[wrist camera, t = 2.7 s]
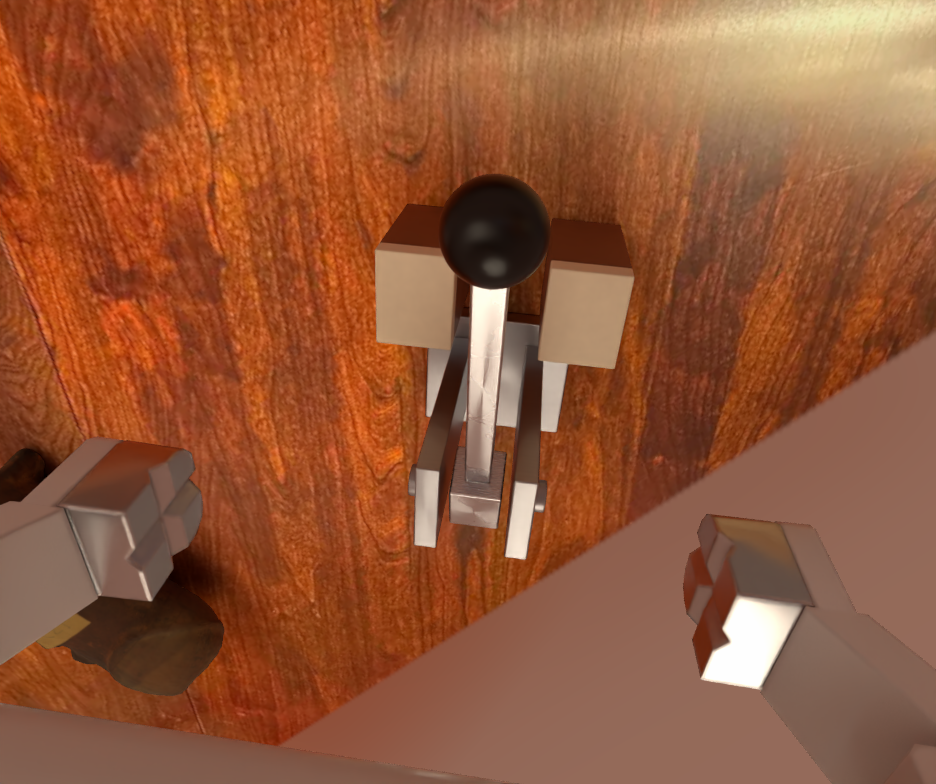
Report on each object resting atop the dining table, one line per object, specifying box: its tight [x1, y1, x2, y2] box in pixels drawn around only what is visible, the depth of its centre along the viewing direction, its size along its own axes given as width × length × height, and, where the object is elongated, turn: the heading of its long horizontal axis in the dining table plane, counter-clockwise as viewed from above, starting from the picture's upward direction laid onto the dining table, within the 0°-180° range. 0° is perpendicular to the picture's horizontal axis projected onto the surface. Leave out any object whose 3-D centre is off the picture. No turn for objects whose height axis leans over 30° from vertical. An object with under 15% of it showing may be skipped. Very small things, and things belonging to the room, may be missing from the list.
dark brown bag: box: [0, 449, 224, 696], centre depth 47 cm, size 12×20×8 cm, turn 47°
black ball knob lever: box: [438, 174, 551, 529], centre depth 22 cm, size 17×3×3 cm, turn 176°
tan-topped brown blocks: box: [375, 204, 634, 369], centre depth 31 cm, size 11×4×7 cm, turn 86°
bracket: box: [408, 308, 569, 560], centre depth 32 cm, size 7×8×13 cm
